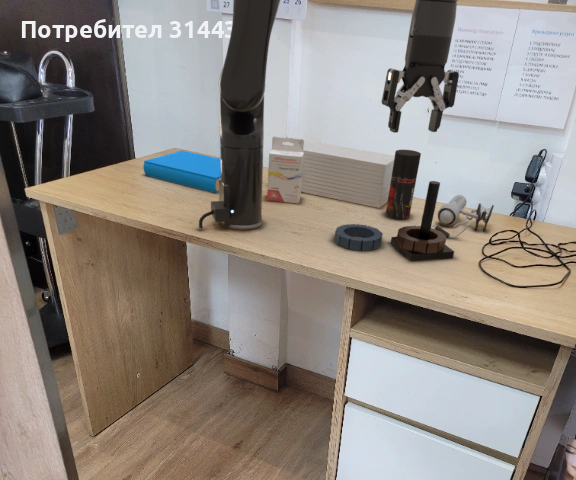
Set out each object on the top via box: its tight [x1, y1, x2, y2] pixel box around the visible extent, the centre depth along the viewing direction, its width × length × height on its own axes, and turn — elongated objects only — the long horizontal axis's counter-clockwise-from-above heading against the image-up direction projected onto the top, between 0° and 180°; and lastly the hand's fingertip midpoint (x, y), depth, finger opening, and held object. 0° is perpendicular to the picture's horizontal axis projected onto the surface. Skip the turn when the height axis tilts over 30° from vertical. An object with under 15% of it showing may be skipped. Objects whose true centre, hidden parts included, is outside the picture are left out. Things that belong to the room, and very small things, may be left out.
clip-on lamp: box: [431, 194, 495, 239], centre depth 131 cm, size 12×6×18 cm
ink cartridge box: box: [266, 136, 305, 204], centre depth 140 cm, size 9×5×15 cm, turn 84°
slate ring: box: [333, 223, 384, 252], centre depth 122 cm, size 10×10×2 cm
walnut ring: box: [396, 225, 447, 253], centre depth 119 cm, size 10×10×2 cm
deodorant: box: [385, 149, 422, 221], centre depth 134 cm, size 6×6×15 cm
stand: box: [390, 180, 455, 262], centre depth 116 cm, size 10×10×14 cm
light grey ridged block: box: [282, 139, 395, 209], centre depth 149 cm, size 32×11×11 cm, turn 63°
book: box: [143, 149, 221, 194], centre depth 155 cm, size 17×4×25 cm
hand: (413, 131), depth 107 cm, fingers open, 8 cm apart
